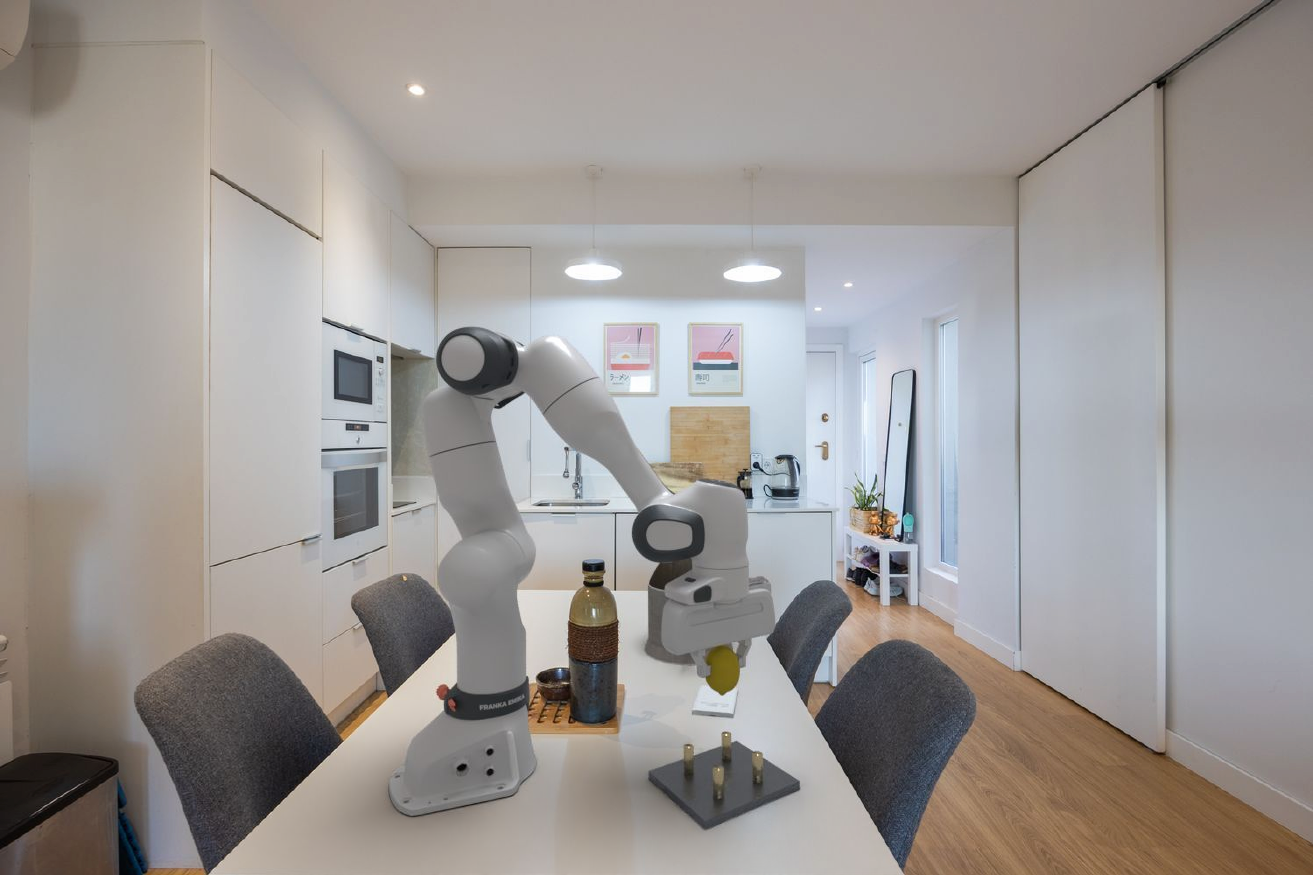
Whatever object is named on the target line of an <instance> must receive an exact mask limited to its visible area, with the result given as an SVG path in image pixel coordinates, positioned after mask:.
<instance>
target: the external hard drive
mask: <svg viewBox="0 0 1313 875" xmlns="http://www.w3.org/2000/svg"><path fill="white" fill-rule="evenodd" d="M738 695H739V688H737V687H735V688H734V689H733V690H731V691H730V692H727V693H726V694H725V695H723V696H721V695H720V694H719V693H718V692H716V691H714V690H713V689H711V688H710V686H709V685H708V684H707V685H706V684H705V685H704V684H701V685H699V688H698V692H697V695H696V697H695V701H694V703H693V706H692V708H691V709H692V710H691V715H693V716H706V717H710V716H711V717H712V716H713V717H717V718H726V717H727V718H729V719H734V716H735V713H736V712H735V710H736V706H737V701H738Z"/></svg>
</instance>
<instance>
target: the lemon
mask: <svg viewBox="0 0 1313 875" xmlns="http://www.w3.org/2000/svg"><path fill="white" fill-rule="evenodd" d="M733 650H734V649H733ZM733 650H732V649H731V648H729V647H727V646H725V645H721V646H716V647H714V648H712V649H711V650H710V651H709V653H708V654H707V657H706V660H705V663H707V664H709V665H711V671H710V672H711V676H709V677H705V678H704V679H705V681H706V683H707V685H708V686H710V688H711V689H713V690H714V691H716V692H718V693H719V694H720V695H721V696H723V695H725V694H726V693H727V692H730V691H731V690H733V689H734V688H736V686H737V685H738V683H739V679H740V676H741V675H740V674H741V668H740V665H739V661H738V658H737V655H736V651H733Z"/></svg>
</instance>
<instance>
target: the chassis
mask: <svg viewBox="0 0 1313 875" xmlns="http://www.w3.org/2000/svg"><path fill="white" fill-rule="evenodd" d="M763 754H764V753H763V752H762V751H759V750H755V751H754V750H752V749H751V748H749V747H748V746H746V745H744V744H742V743H741V742H740V741H738V740H735V741H732V733H731V732H730V731H722V732H721V746H717V747H714V748H711V749H708V750H706V751H702V752H699V753H697V754H695V755H694V745H693V744H691V743H685V744H683V758H682V759H680V760H677V761H673V762H671V763H667V764H665V765H662V766H660V767H659V766H658V767H656V768H653V769H650V770H648V774H647V775H648V780H649V781H650V782H652V784H654V785H655V787H657V788H658V789H659V790H660V791H662V792H663V793H664V794H665V795H666V796H667V797H668V798H669V799H670V800H671V801H673V802H674V803H675V804H676V805H677V806H678V807H679V808H680V809H681V810H682V811H684V812H685V813H686V814H687V815H688V816H689V817H690V818H691V819H692V820H694V822H696V824H698V825H699V826H701V828H702V829H703V830H705V831H706V830H708V829H711V828H713V827H716V826H718V825H721V824H722V823H725V822H727V821H729V820H732V819H734V818H737V817H739V816H741V815H743V814H745V813H747V812H750V811H753V810H754V809H757V808H760V807H762V806H764V805H767V804H769V803H771V802H774V801H775V800H779V799H780V798H783V797H785V796H788V795H790V794H792V793H794V792H796V791H798V790H801V781H800V780H799V779H797V778H795V777H794V776H792V775H791V774H789V773H788V772H787V771H785V770H783V769H781V768H780V767H779V766H777V765H775V764H774V763H773V762H771V761H769V759H766V758H764V755H763Z"/></svg>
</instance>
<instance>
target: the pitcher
mask: <svg viewBox="0 0 1313 875" xmlns="http://www.w3.org/2000/svg"><path fill="white" fill-rule="evenodd" d="M690 570H692V559H691V558H688V559H684V560H679V561H673V562H669V563H657V566H656V567H655V568H654V570H653V571H652V574H650V577H649V580H648V583H647V623H648V624H647V631H648V632H647V633H648V634H647V635H648V636H647V637H648V638H647V640H646V644H645V646H644V649H643V652H644V653H645V654H646V656H647V657H649V658H651V659H653V660H655V661H657V662H661V663H666V664H668V665H669V664H670V665H678V666H697V664H696V663H695V661H694V660H693V658H692V656H691V654H690V653H686V654H682V655H675V654H673V653H671V652H669V651H667V650H666V649H665V647H664V646H663V644H662V638H661V630H662V614H663V608H664V606H665V604H666V602H667V601H668V600H669V599H670V598H668V597H666V595H665V586H666V584H667V583H669V582H671V581H673V580H675V579H676V578H678V577H680V576H682V575H684V574H685V573H687V572H688V571H690ZM725 646H727V647H729V648H731V649H732V650H734V646H733V643H729V644H725ZM712 648H714V647H712ZM712 648H708V649H705V656H702V657H703V659H704V661H705V660H706V657H707V654H708V653H709V651H710V650H711V649H712Z"/></svg>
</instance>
